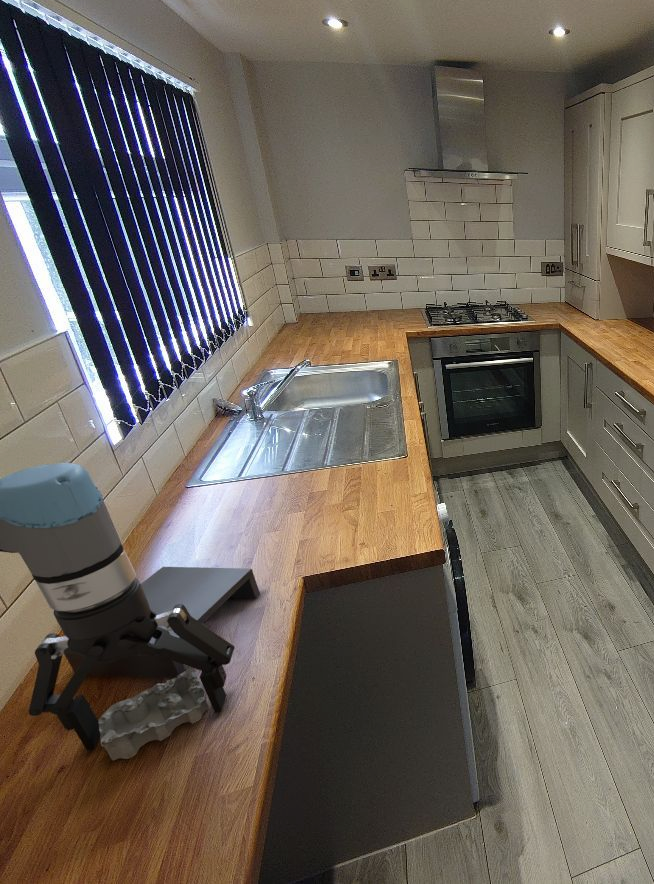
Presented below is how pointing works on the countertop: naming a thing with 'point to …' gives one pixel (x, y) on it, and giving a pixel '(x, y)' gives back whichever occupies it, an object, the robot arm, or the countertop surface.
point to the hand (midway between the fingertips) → (160, 722)
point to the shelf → (163, 592)
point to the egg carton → (152, 715)
